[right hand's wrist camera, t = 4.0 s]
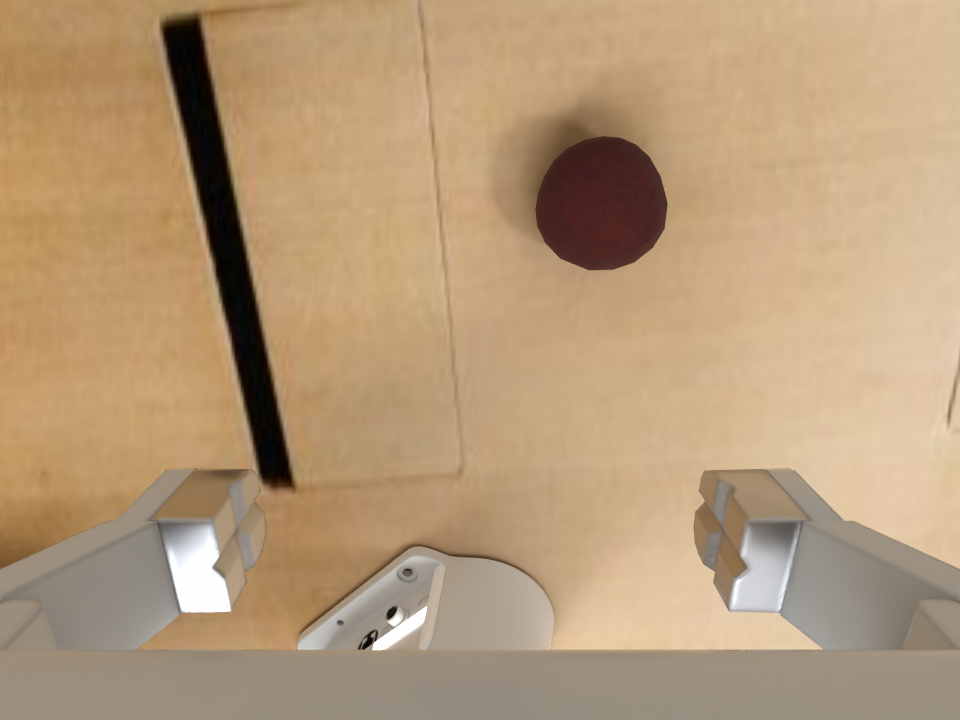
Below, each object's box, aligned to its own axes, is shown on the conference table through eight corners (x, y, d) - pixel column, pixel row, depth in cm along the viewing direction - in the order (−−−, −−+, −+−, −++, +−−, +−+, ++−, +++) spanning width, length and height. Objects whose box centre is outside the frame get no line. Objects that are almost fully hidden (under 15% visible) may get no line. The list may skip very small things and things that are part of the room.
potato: (611, 113, 34) (642, 105, 28) (667, 222, 37) (708, 239, 30) (508, 181, 36) (514, 189, 29) (568, 282, 38) (587, 311, 32)
